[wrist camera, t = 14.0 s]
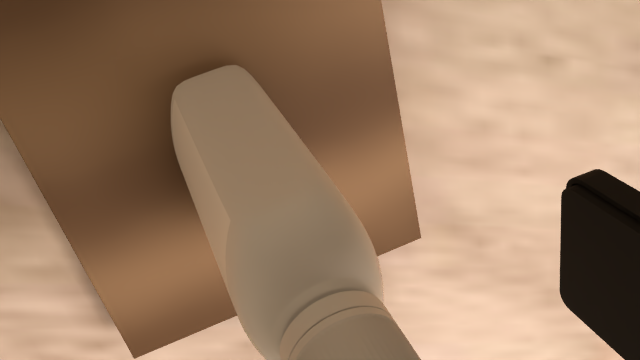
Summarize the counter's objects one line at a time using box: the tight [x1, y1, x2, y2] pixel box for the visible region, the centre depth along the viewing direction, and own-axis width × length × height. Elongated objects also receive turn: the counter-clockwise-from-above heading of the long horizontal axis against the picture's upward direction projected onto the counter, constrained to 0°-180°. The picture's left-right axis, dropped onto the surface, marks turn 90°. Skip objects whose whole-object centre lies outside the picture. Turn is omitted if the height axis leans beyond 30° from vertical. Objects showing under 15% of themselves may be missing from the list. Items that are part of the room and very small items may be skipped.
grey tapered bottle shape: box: [171, 65, 421, 360], centre depth 14 cm, size 4×6×12 cm
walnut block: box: [0, 0, 421, 359], centre depth 21 cm, size 14×12×3 cm
